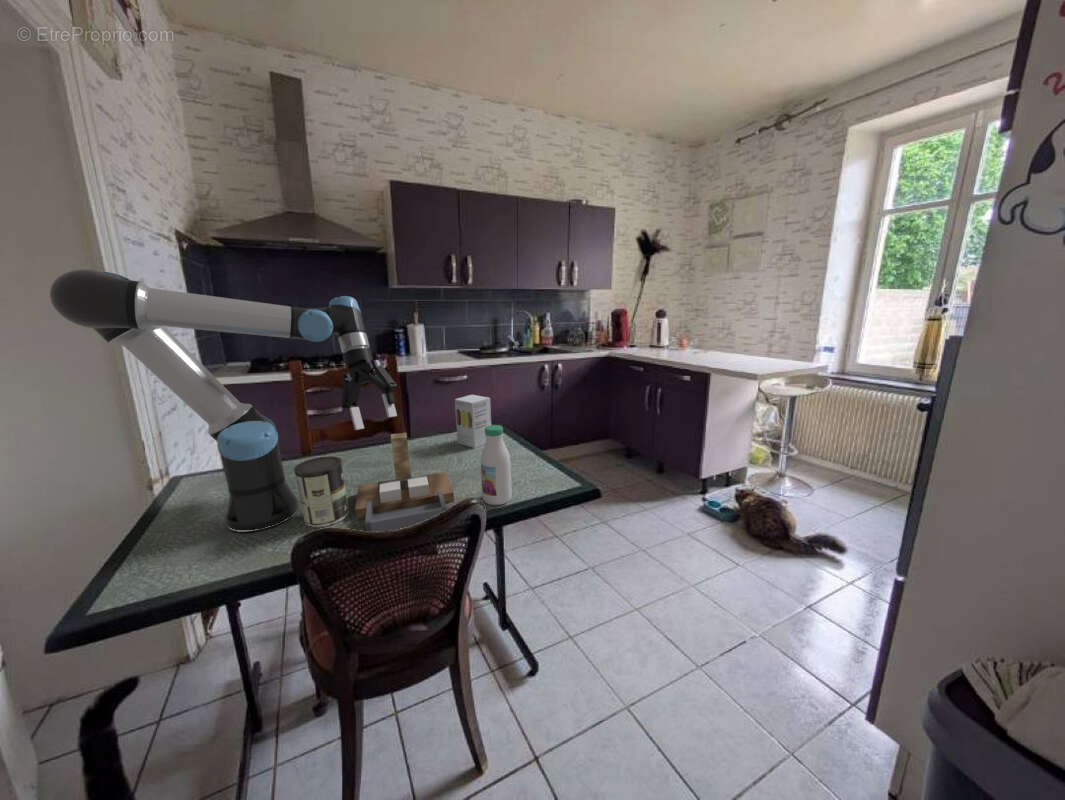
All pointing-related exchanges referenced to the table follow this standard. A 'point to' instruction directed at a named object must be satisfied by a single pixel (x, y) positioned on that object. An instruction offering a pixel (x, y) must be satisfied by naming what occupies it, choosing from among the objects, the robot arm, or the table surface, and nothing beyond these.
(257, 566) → the table surface
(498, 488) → the milk bottle
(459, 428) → the supplement box
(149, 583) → the table surface
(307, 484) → the coffee can
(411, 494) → the tile right
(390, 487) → the tile left
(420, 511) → the tray
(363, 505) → the flat wooden board
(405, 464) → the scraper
